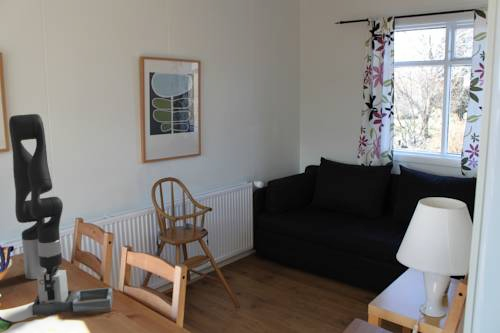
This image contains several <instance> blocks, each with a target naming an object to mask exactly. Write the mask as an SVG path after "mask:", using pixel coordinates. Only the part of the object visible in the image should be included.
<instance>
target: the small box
mask: <svg viewBox="0 0 500 333" xmlns="http://www.w3.org/2000/svg"><path fill="white" fill-rule="evenodd" d="M45 271H46V270H45ZM45 271H43V272H42V273H41V274H40V275H38V276H37V279H36V280H37V290H38V294H39V303H40V304H48V303H57V302H67V301H68V290H69V289H68V277H67V270H66V269H59V271H58V272H57V275H54V276H53V277H52V281H53V280H55V284H54V294H55V299H54V300H48V296H47V291H45V285H44V274H45ZM48 287H51V285H50V284H49V285H48Z"/></svg>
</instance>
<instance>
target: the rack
mask: <svg viewBox="0 0 500 333" xmlns="http://www.w3.org/2000/svg"><path fill="white" fill-rule="evenodd" d="M113 303H114V293H113V287H112V286H111V287H110V286H108V287H100V288H89V289H81V290H80V289H79V290H77V291H76V292H75V298H74V301H73V306H72V316H73V317H74V316H82V315H92V314H93V315H94V314H101V313H109V312H112V309H113Z"/></svg>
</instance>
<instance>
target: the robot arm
mask: <svg viewBox="0 0 500 333" xmlns="http://www.w3.org/2000/svg"><path fill="white" fill-rule="evenodd" d="M44 127H45V126H44V122H43V120H42V117H41V116H40V114H38V113H30V114H29V113H28V114H18V115H17V114H16V115H12V116H11V117H10V118H9V120H8V129H9V135H10V136H9V137H10V143H11V149H12V150H11V151H12V167H13V168H12V170H13V180H14V189H15V203H14V204H15V205H14V206H15V217H16V220H17V222H18V223H20V224H24V223H25V224H27V223H32V222H36V223H35V224H33V225H32V226H30V227H29V228H25V229H24V230H23V231H22V232H21V241H22V252H23V262H24V263H23V264H24V272H25V273H24V274H25V279H28V280H37V276H38V275H40V274H41V273H42V272H43V271H45V270H46V271H45V274H44V285H45V291H47V296H48V300H54V299H55V294H54V284H55V280H53V281H52V277H53V276H54V275H57V272H58V271H59V270H60V265H62V264H63V254H62V243H61V237H60V224H61V217H62V214H63V209H64V208H63V205H64V204H63V201H62V200H61V198H59V197H58V196H50V197H48V196H47V197H42V198H41V197H40V196H41V195H43V194H45V193H46V194H47V193H48V192H50V191H52V189H53V182H52V177H51V175H50V169H49V164H48V163H49V162H48V154H47V153H48V152H47V142H46V134H45V128H44ZM27 140H35V142H36V145H35V150H34V152H33V154H31V153H30V151H28V150H27V149H26V148H25V146H24V144H23V143H22V141H27ZM29 195H30V199H29V200H27V198H28V196H29ZM47 218H49V220H48V221H46V219H47ZM45 221H46V222H45ZM49 284H50V285H51V287H48V285H49Z"/></svg>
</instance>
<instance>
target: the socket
mask: <svg viewBox="0 0 500 333" xmlns="http://www.w3.org/2000/svg"><path fill="white" fill-rule="evenodd" d="M75 296H76V292H75V289H68V301H67V302H57V303H48V304H40V303H39V293H38V294H37V296H36V297H35V300H34V302H33V303H32V305H31V312H32V313H31V314H32V316H42V315H50V314H51V315H52V314H61V313H68V312H69V313H70V312H71V311H72V310H73V301H74V298H75Z"/></svg>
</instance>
